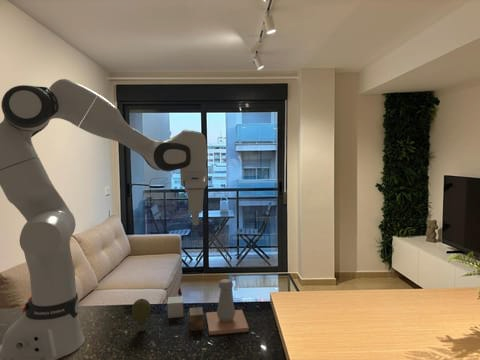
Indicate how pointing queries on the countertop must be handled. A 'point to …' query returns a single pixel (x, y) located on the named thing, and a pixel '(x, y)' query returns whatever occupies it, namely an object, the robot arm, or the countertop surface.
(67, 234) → the robot arm
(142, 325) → the light bulb
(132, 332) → the countertop surface
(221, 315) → the salt shaker
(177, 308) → the pale grey block
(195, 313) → the walnut block
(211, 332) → the terracotta tile
